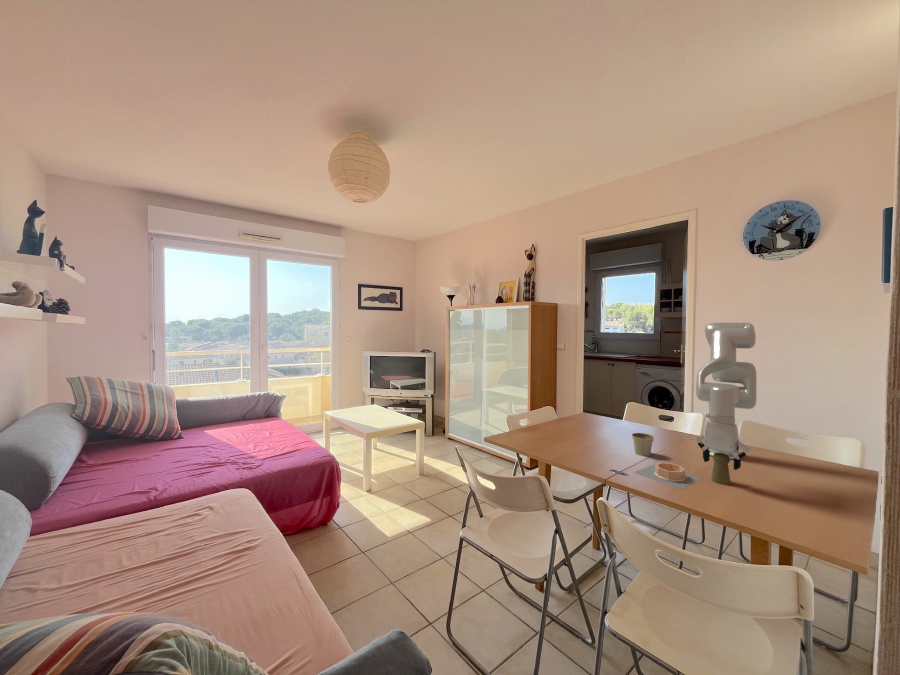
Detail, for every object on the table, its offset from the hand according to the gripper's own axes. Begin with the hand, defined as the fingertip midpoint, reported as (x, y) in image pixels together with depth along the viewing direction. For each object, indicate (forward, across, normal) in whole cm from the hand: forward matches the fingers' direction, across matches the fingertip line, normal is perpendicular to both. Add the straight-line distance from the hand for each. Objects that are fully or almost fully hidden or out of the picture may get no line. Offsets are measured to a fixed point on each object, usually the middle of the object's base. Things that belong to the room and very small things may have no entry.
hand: (721, 465), depth 140 cm
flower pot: (+7, -33, +6) cm, 34 cm away
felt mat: (+7, -14, -10) cm, 19 cm away
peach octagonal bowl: (+7, -13, -10) cm, 18 cm away
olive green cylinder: (+7, 0, +1) cm, 7 cm away
